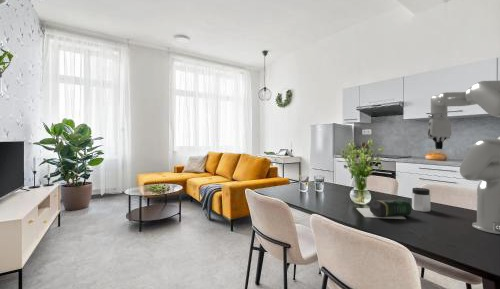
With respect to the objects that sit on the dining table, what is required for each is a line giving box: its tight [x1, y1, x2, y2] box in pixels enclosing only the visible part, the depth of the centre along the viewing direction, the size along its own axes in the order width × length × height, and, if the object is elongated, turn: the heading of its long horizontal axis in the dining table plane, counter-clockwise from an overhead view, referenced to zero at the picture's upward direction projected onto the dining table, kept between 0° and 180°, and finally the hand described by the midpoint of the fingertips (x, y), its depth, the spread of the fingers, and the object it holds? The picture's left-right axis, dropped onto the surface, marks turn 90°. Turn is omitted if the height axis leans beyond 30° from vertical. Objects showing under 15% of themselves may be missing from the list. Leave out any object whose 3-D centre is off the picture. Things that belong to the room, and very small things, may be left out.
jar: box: [411, 187, 431, 213], centre depth 137 cm, size 9×8×12 cm
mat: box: [355, 207, 407, 220], centre depth 131 cm, size 16×20×1 cm
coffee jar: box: [369, 198, 412, 217], centre depth 126 cm, size 10×8×19 cm
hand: (438, 148), depth 136 cm, fingers closed
